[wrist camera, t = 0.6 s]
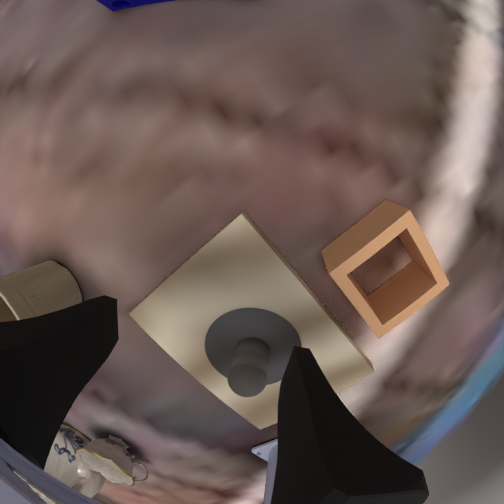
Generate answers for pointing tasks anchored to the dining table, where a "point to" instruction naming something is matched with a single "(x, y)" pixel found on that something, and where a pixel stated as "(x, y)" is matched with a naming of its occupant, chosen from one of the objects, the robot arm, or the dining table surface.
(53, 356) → the robot arm
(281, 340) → the post plate
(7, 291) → the flower pot
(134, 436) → the dining table surface
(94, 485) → the chinaware
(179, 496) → the dining table surface
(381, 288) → the collar
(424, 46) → the dining table surface
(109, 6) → the cable clip
